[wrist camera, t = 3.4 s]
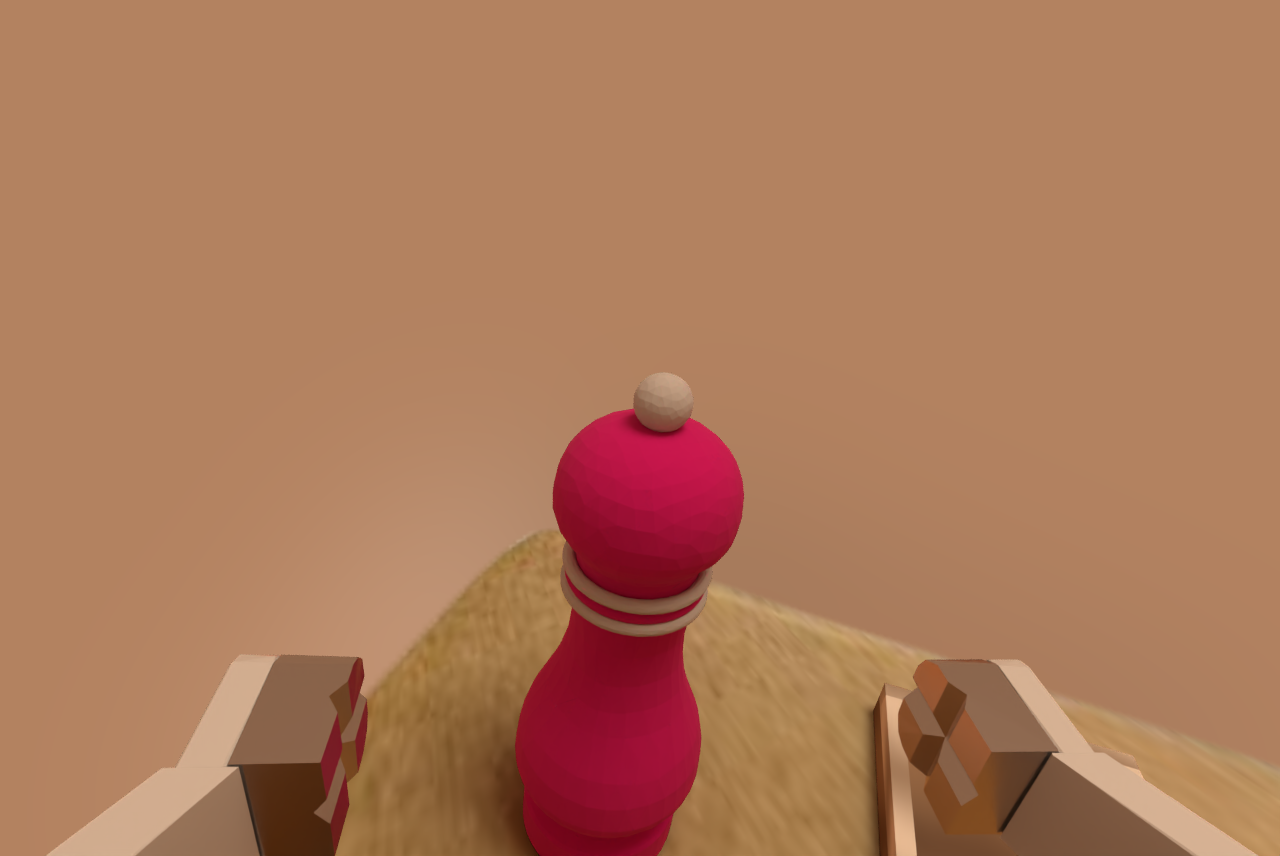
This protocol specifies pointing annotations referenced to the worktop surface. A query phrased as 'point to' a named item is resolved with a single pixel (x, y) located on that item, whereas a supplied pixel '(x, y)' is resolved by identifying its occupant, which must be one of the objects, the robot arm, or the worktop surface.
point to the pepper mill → (626, 627)
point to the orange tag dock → (905, 815)
